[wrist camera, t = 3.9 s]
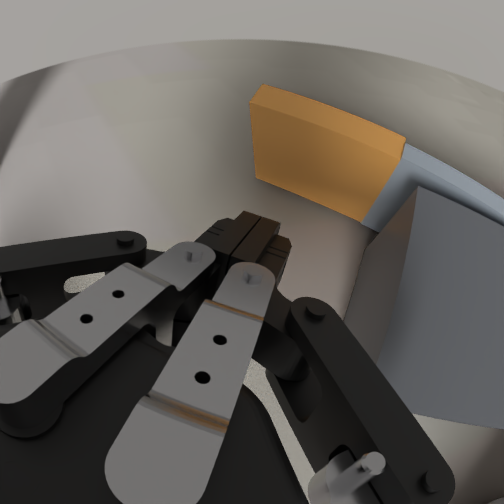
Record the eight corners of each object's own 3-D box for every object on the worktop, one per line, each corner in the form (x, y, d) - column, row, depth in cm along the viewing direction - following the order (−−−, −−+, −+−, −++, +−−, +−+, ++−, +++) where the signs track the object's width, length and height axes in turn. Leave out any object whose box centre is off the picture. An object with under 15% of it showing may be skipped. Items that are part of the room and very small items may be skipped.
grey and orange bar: (255, 179, 20) (249, 99, 13) (267, 159, 20) (265, 77, 13) (505, 298, 16) (577, 271, 10) (509, 276, 17) (577, 244, 10)
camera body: (322, 379, 16) (367, 402, 8) (364, 249, 18) (422, 180, 10) (496, 421, 14) (581, 435, 6) (522, 312, 16) (604, 286, 8)
